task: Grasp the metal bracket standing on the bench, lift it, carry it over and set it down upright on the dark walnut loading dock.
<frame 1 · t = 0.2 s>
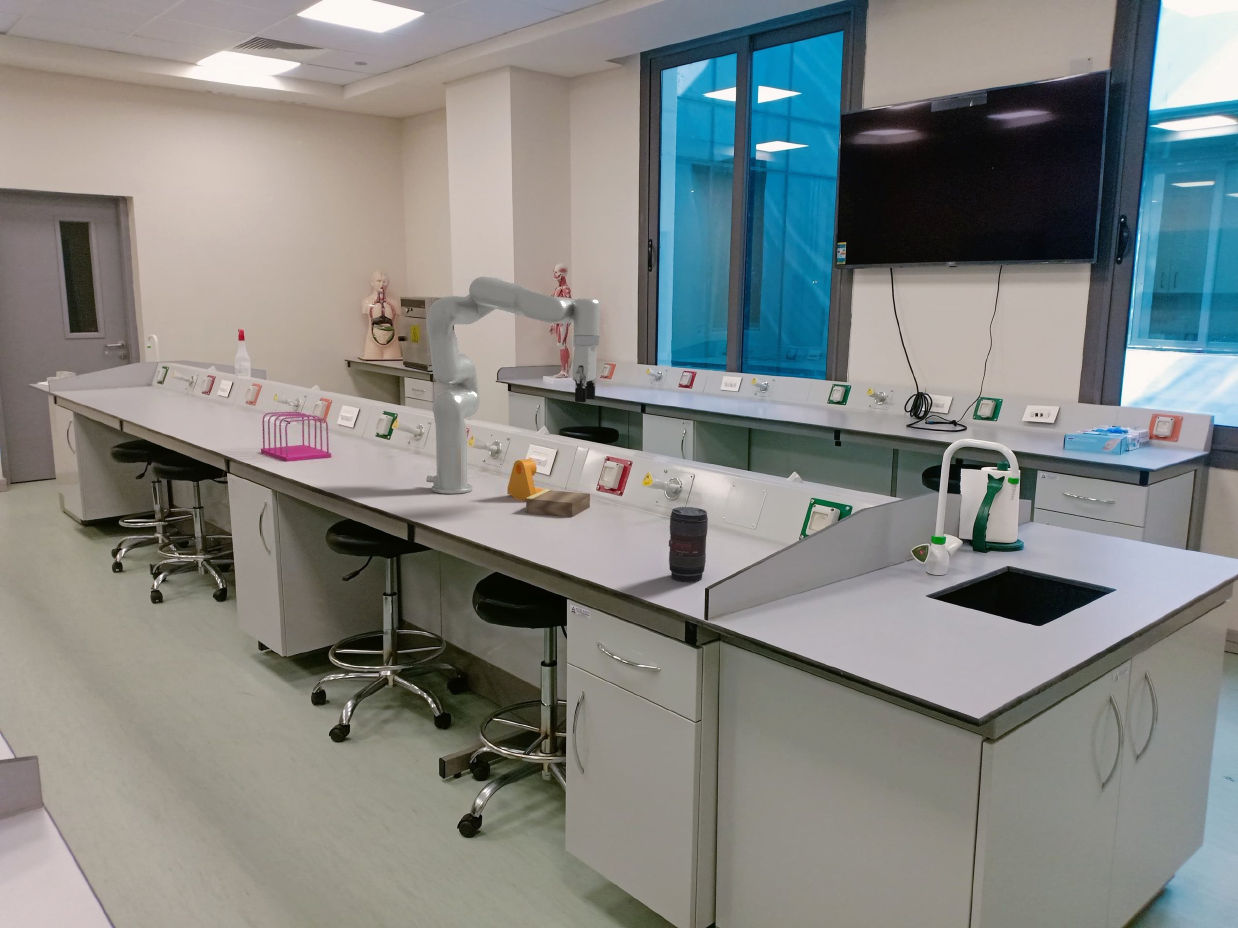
hand: (585, 400, 265), 31 cm above the worktop, tool pointing down, fingers open, 9 cm apart
bracket: (527, 498, 275), on the worktop
dock: (558, 509, 260), on the worktop
camera lens: (686, 578, 196), on the worktop
file sorter: (295, 455, 343), on the worktop
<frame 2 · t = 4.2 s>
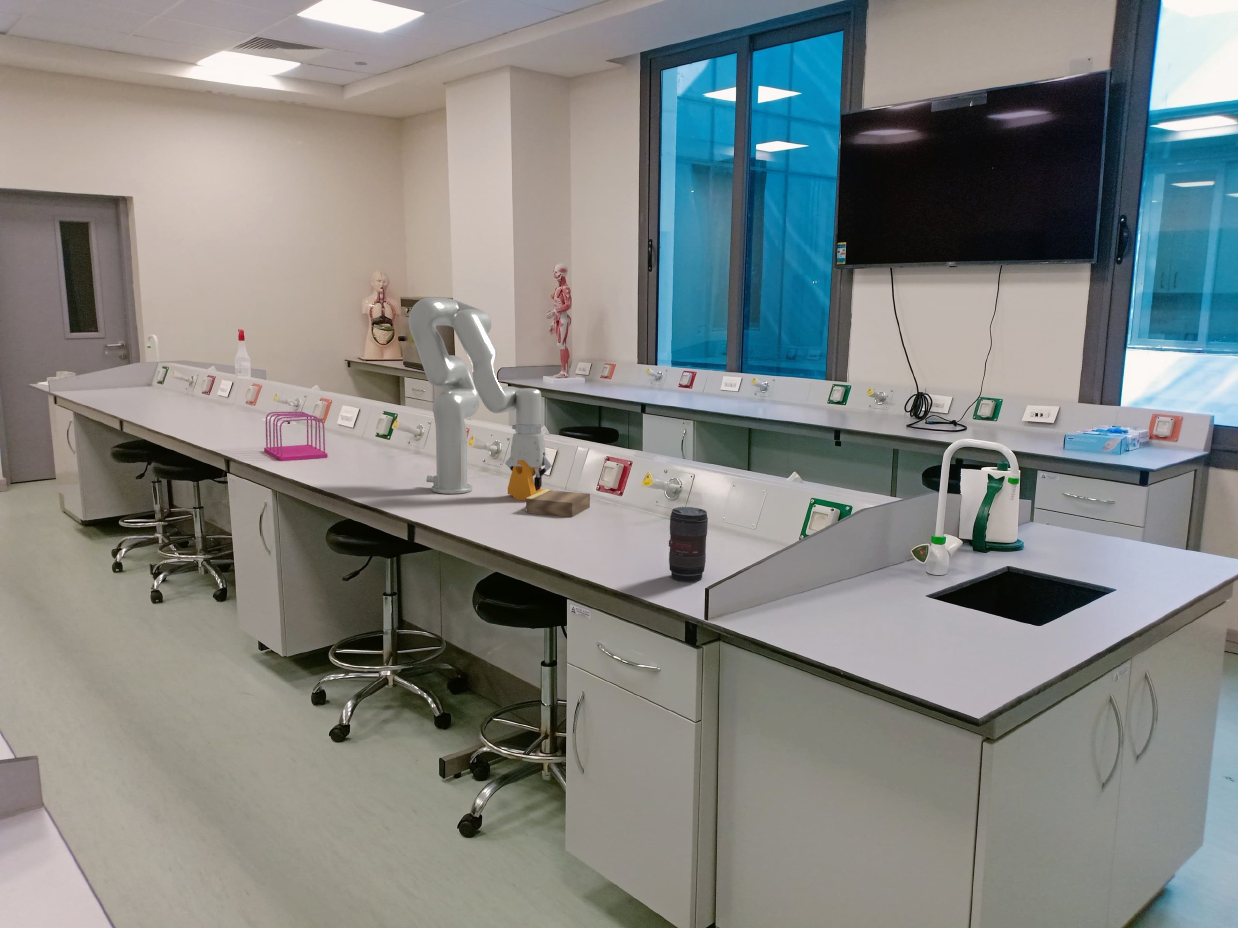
hand: (528, 488, 275), 3 cm above the worktop, tool pointing down, fingers open, 5 cm apart
bracket: (528, 498, 276), on the worktop, touching gripper
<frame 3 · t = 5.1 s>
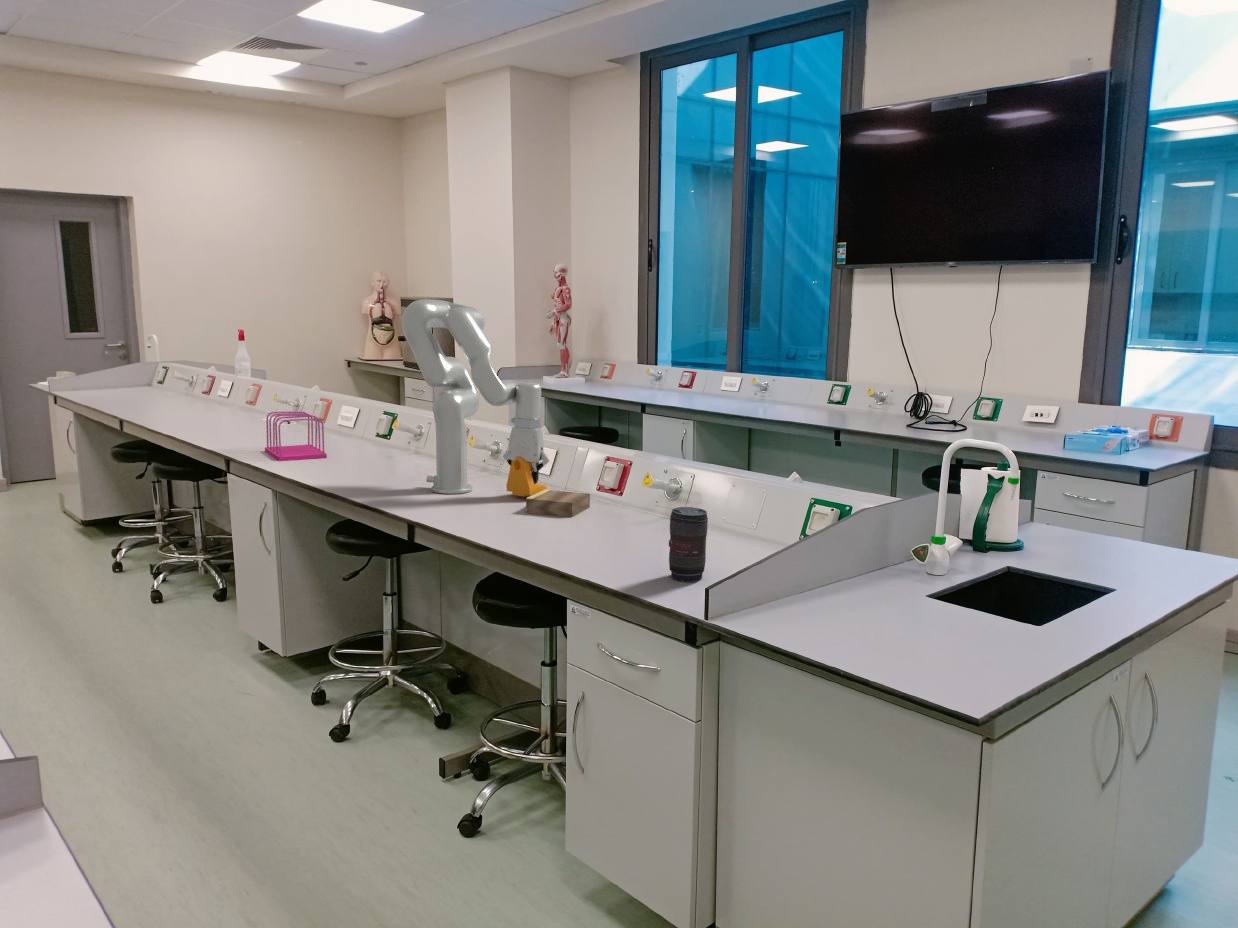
hand: (525, 482, 275), 5 cm above the worktop, tool pointing down, fingers closed on bracket, 5 cm apart
bracket: (527, 494, 276), point 1 cm above the worktop, touching gripper
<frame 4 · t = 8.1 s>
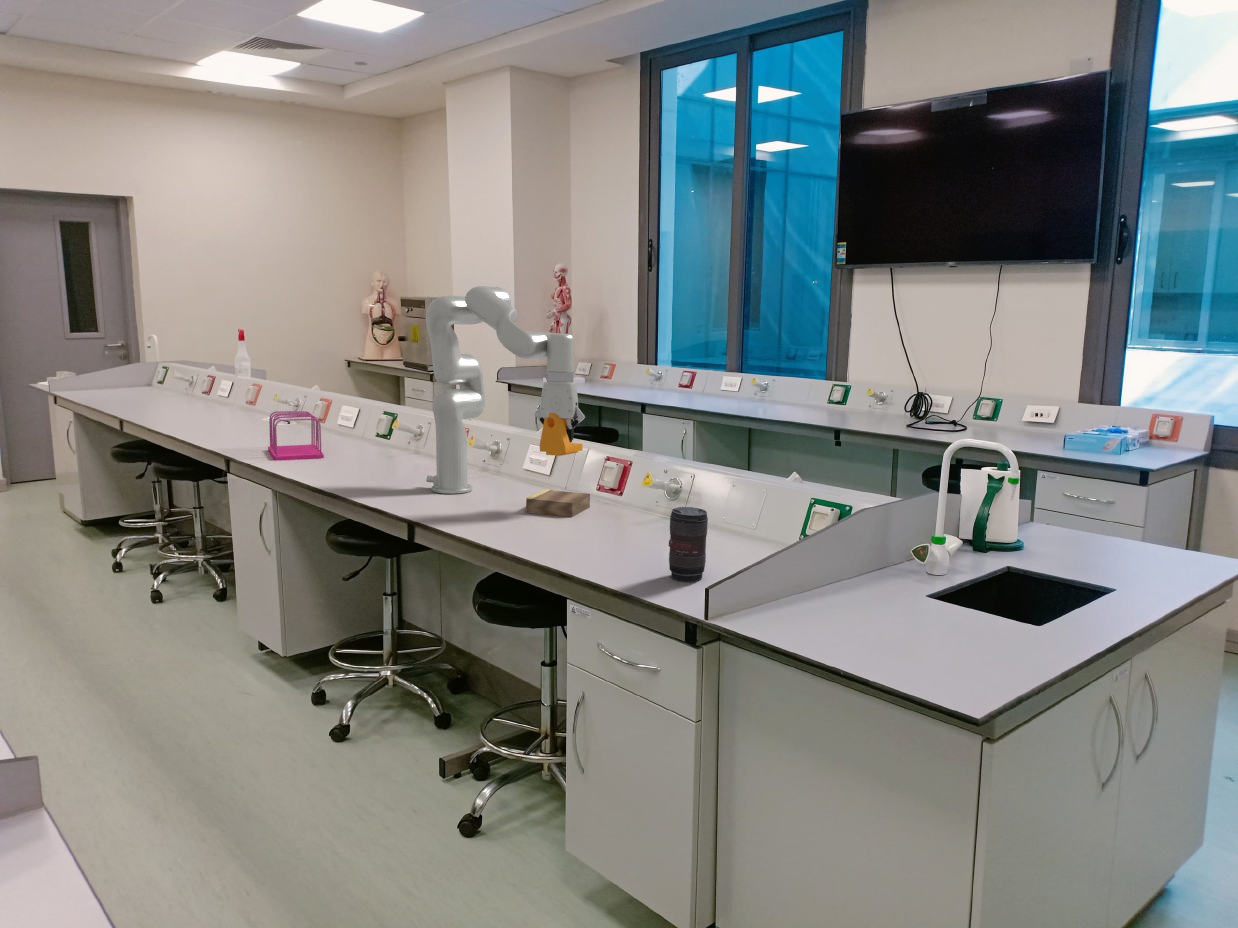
hand: (559, 441, 256), 20 cm above the worktop, tool pointing down, fingers closed on bracket, 5 cm apart
bracket: (562, 454, 257), point 16 cm above the worktop, touching gripper
when the fingers open (9 cm above the worktop, at t = 10.8 s): bracket drops 1 cm, resting on dock.
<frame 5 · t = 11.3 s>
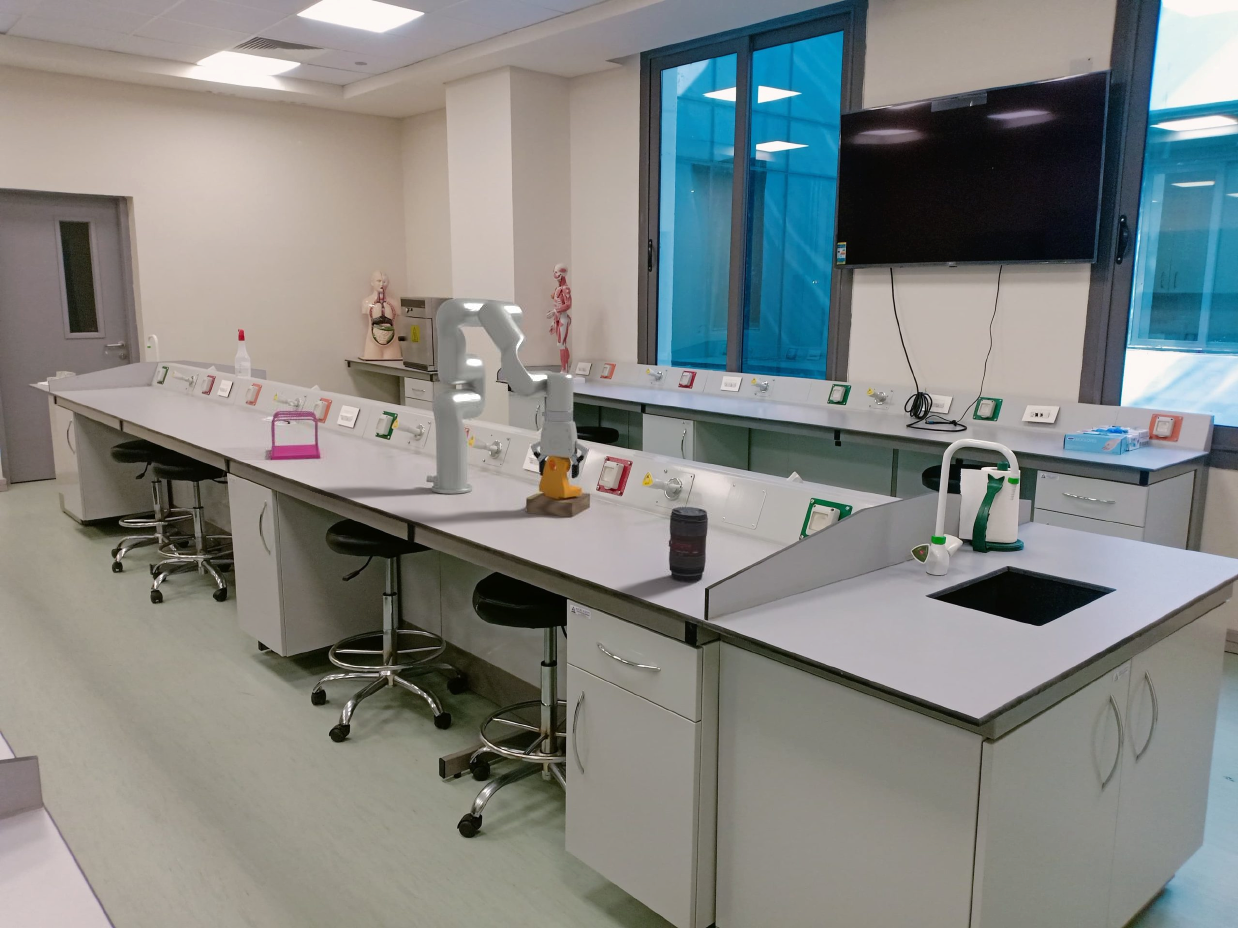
hand: (558, 476, 258), 10 cm above the worktop, tool pointing down, fingers open, 9 cm apart
bracket: (560, 496, 259), point 4 cm above the worktop, touching dock
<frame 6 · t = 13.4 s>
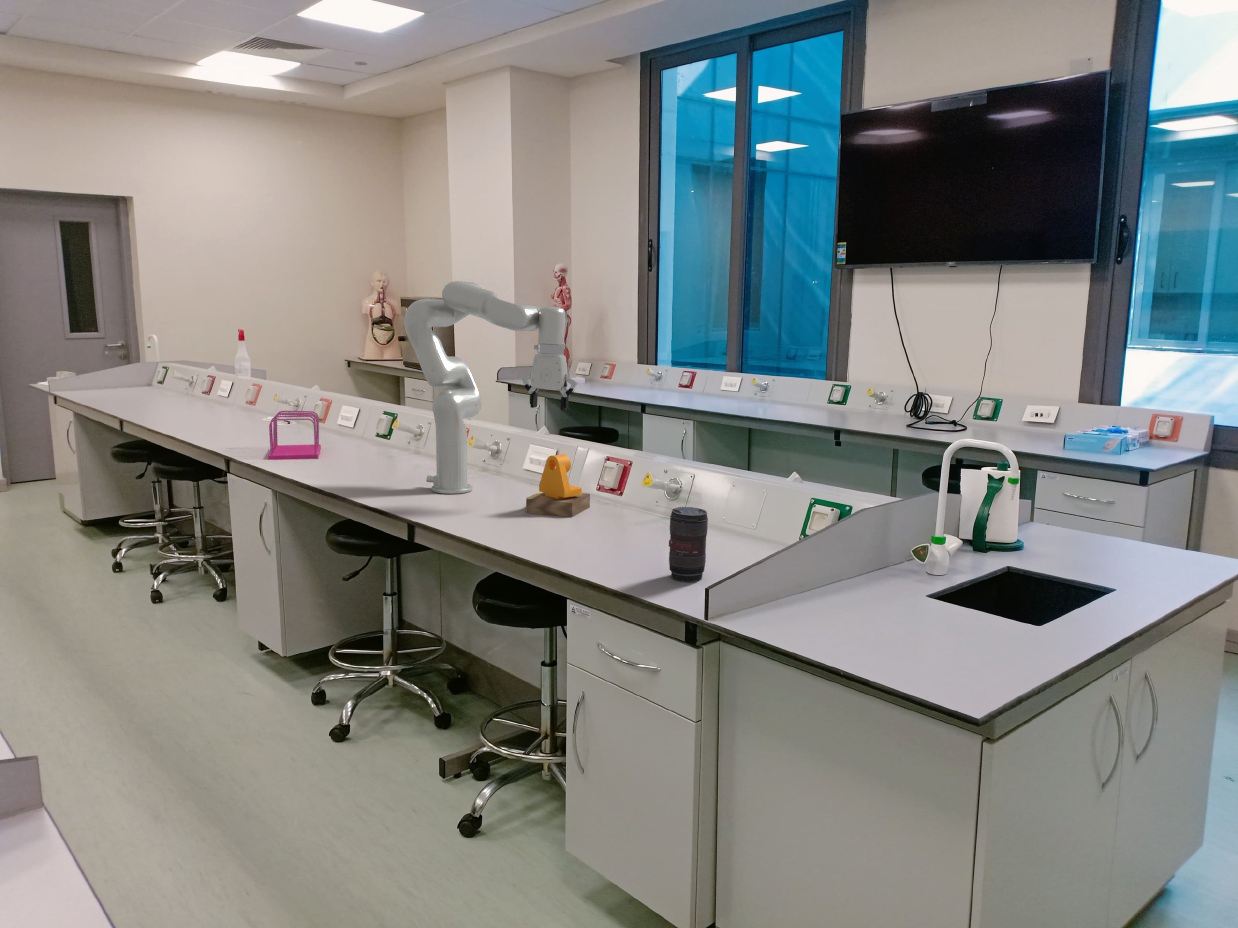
hand: (548, 408, 265), 28 cm above the worktop, tool pointing down, fingers open, 9 cm apart
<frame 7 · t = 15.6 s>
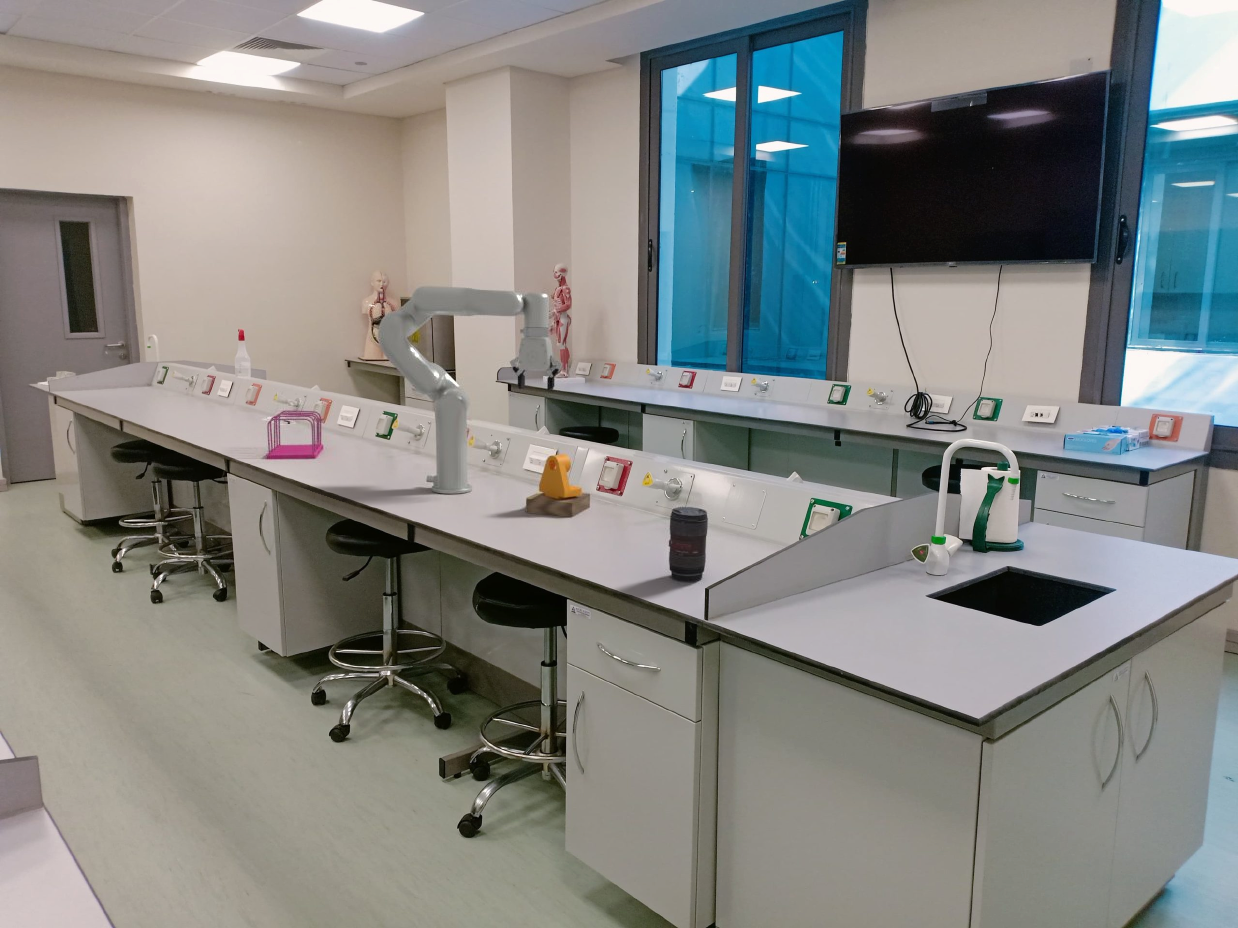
hand: (535, 389, 280), 32 cm above the worktop, tool pointing down, fingers open, 9 cm apart
at the end: bracket inside the target area on the dock (0.6 cm from its centre), point 3.9 cm above the dock's base; bracket tilted 1°; the gripper is holding nothing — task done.
